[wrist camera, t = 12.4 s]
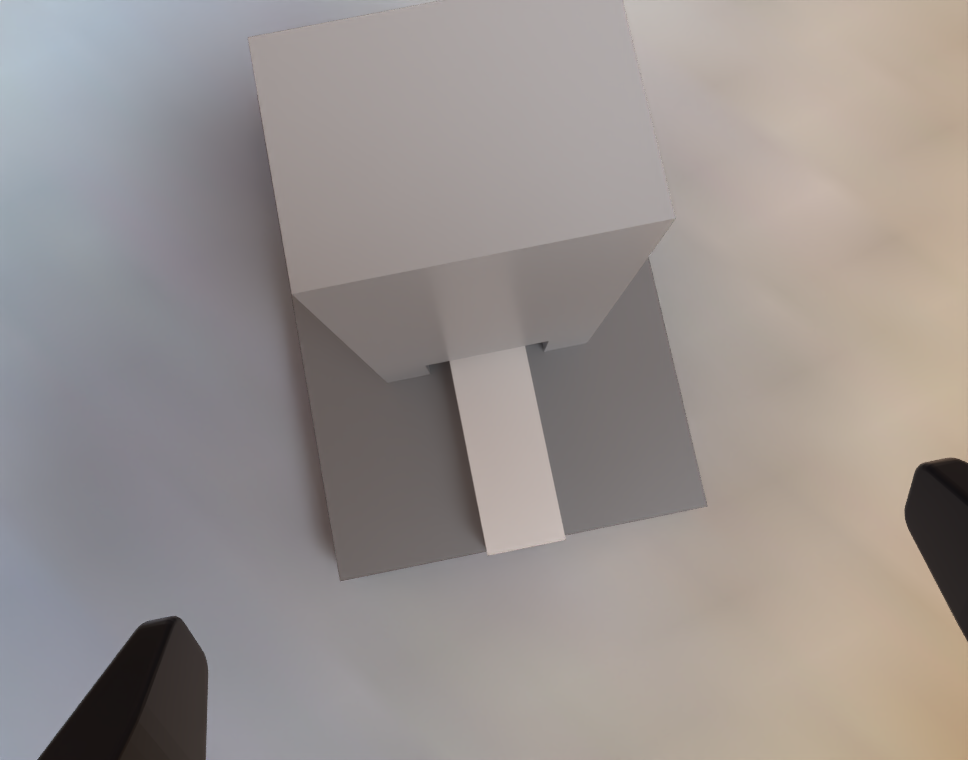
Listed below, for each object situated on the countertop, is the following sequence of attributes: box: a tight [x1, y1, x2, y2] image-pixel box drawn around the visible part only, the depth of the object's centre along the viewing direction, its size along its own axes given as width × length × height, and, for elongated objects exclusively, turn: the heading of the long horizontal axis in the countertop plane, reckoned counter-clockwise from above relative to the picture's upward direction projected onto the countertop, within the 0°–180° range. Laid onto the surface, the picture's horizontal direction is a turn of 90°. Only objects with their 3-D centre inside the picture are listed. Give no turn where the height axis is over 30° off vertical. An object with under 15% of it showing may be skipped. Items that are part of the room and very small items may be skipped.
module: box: [248, 0, 676, 383], centre depth 16 cm, size 4×6×10 cm
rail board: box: [257, 95, 707, 581], centre depth 21 cm, size 14×10×3 cm
